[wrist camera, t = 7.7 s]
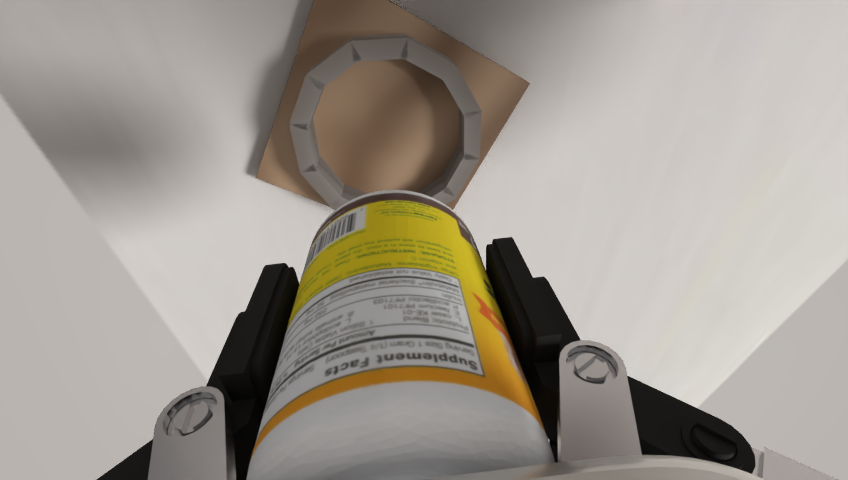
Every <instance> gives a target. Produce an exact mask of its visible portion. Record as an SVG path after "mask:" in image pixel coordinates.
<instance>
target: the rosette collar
mask: <svg viewBox="0 0 848 480" xmlns="http://www.w3.org/2000/svg"><path fill="white" fill-rule="evenodd" d="M529 84H530V83H529V82H527V81H526V80H524V79H522V78H520V77H519V76H517V75H515V74H514V73H512V72H510V71H508V70H507V69H505V68H503V67H502V66H500V65H498V64H496V63H495V62H493V61H491V60H490V59H488V58H486V57H485V56H483V55H481V54H479V53H478V52H476V51H474V50H473V49H471V48H469V47H467V46H466V45H464V44H462V43H461V42H459V41H457V40H455V39H454V38H452V37H450V36H449V35H447V34H445V33H443V32H442V31H440V30H438V29H437V28H435V27H433V26H431V25H430V24H428V23H426V22H425V21H423V20H421V19H419V18H418V17H416V16H414V15H413V14H411V13H409V12H407V11H406V10H404V9H402V8H401V7H399V6H397V5H395V4H394V3H392V2H390V1H389V0H314V2H313V5H312V8H311V11H310V14H309V17H308V20H307V23H306V26H305V29H304V32H303V35H302V38H301V42H300V45H299V48H298V51H297V54H296V57H295V60H294V63H293V66H292V69H291V72H290V75H289V78H288V81H287V84H286V87H285V90H284V94H283V97H282V100H281V103H280V106H279V109H278V112H277V115H276V118H275V121H274V124H273V127H272V130H271V133H270V136H269V139H268V142H267V145H266V149H265V152H264V155H263V158H262V161H261V164H260V167H259V170H258V173H257V176H256V178H258V179H261V180H263V181H266V182H268V183H271V184H273V185H276V186H278V187H281V188H284V189H286V190H289V191H291V192H294V193H296V194H299V195H302V196H304V197H307V198H309V199H312V200H314V201H317V202H319V203H322V204H325V205H327V206H330V207H331V208H332V209H335V210H336V209H338V208H339V207H340V206H342V205H343V204H345V203H347V202H348V201H350V200H352V199H354V198H357V197H359V196H362V195H365V194H368V193H372V192H376V191H383V190H406V191H412V192H417V193H421V194H424V195H427V196H430V197H432V198H434V199H436V200H438V201H440V202H442V203H444V204H445V205H447V206H448V207H449V208H451V209H452V210H453V209H454V207H455V205H456V204H457V202H458V201H459V199H460V197H461V196H462V194H463V192H464V191H465V189H466V187H467V186H468V184H469V182H470V181H471V179H472V178H473V176H474V174H475V173H476V171H477V169H478V168H479V166H480V164H481V163H482V161H483V159H484V158H485V156H486V155H487V153H488V151H489V150H490V148H491V146H492V145H493V143H494V141H495V140H496V138H497V136H498V135H499V133H500V132H501V130H502V128H503V127H504V125H505V123H506V122H507V120H508V118H509V117H510V115H511V113H512V112H513V110H514V109H515V107H516V105H517V104H518V102H519V100H520V99H521V97H522V95H523V94H524V92H525V90H526V89H527V87H528V86H529Z"/></svg>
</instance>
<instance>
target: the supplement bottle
mask: <svg viewBox="0 0 848 480" xmlns="http://www.w3.org/2000/svg"><path fill="white" fill-rule="evenodd" d="M550 463H555V460H554V456H553V453H552V450H551V447H550V444H549V441H548V438H547V435H546V432H545V429H544V426H543V424H542V421H541V418H540V416H539V413H538V410H537V408H536V405H535V402H534V399H533V397H532V394H531V391H530V389H529V386H528V383H527V381H526V378H525V375H524V373H523V370H522V367H521V364H520V362H519V359H518V356H517V354H516V351H515V348H514V346H513V343H512V340H511V338H510V335H509V332H508V330H507V327H506V324H505V322H504V319H503V316H502V313H501V311H500V308H499V305H498V302H497V300H496V297H495V295H494V292H493V289H492V286H491V283H490V281H489V278H488V275H487V273H486V270H485V267H484V265H483V262H482V259H481V257H480V254H479V251H478V249H477V246H476V243H475V241H474V239H473V236H472V234H471V232H470V231H469V229H468V227H467V226H466V224H465V223H464V222H463V220H462V219H461V218H460V217H459V216H458V214H457V213H455V212H454V211H453V210H452V209H451V208H449V207H448V206H447V205H445V204H444V203H442V202H440V201H438V200H436V199H434V198H432V197H430V196H427V195H424V194H421V193H417V192H412V191H406V190H383V191H376V192H372V193H368V194H365V195H362V196H359V197H357V198H354V199H352V200H350V201H348V202H347V203H345V204H343V205H342V206H340V207H339V208H338V209H336V210H335V211H334V212H333V213H332V214H331V215H330V216H329V217H328V218H327V219H326V220H325V221H324V222H323V224H322V225H321V226H320V228H319V229H318V231H317V233H316V235H315V237H314V239H313V242H312V244H311V247H310V250H309V253H308V257H307V261H306V264H305V268H304V271H303V274H302V277H301V281H300V285H299V288H298V291H297V296H296V299H295V302H294V306H293V309H292V313H291V316H290V319H289V323H288V327H287V330H286V334H285V337H284V341H283V346H282V349H281V353H280V356H279V360H278V363H277V367H276V371H275V374H274V378H273V381H272V385H271V389H270V392H269V396H268V399H267V403H266V406H265V410H264V414H263V417H262V421H261V424H260V428H259V432H258V436H257V439H256V443H255V447H254V449H253V453H252V456H251V460H250V464H249V468H248V474H247V479H246V480H423V479H430V478H438V477H446V476H454V475H462V474H470V473H478V472H486V471H494V470H502V469H510V468H518V467H526V466H534V465H542V464H550Z"/></svg>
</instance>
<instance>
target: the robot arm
mask: <svg viewBox="0 0 848 480" xmlns="http://www.w3.org/2000/svg"><path fill="white" fill-rule="evenodd" d="M486 273H487V275H488V278H489V281H490V283H491V286H492V289H493V292H494V295H495V297H496V300H497V302H498V305H499V308H500V311H501V313H502V316H503V319H504V322H505V324H506V327H507V330H508V332H509V335H510V338H511V340H512V343H513V346H514V348H515V351H516V354H517V356H518V359H519V362H520V364H521V367H522V370H523V373H524V375H525V378H526V381H527V383H528V386H529V389H530V391H531V394H532V397H533V399H534V402H535V405H536V408H537V410H538V413H539V416H540V418H541V421H542V424H543V426H544V429H545V432H546V435H547V438H548V441H549V444H550V447H551V450H552V453H553V456H554V460H555V463H550V464H542V465H534V466H526V467H518V468H510V469H502V470H494V471H486V472H478V473H470V474H462V475H454V476H446V477H438V478H430V479H423V480H838V479H835V478H833V477H831V476H829V475H826V474H824V473H822V472H820V471H817V470H815V469H813V468H810V467H808V466H806V465H804V464H801V463H799V462H797V461H795V460H792V459H790V458H788V457H785V456H783V455H781V454H779V453H777V452H774V451H772V450H770V449H768V448H764V449H763V451H762V452H761V451H759V450H757V449H754V448H752V447H751V446H750V444H749V443H748V442H747V441H746V439H745V438H744V437H743V436H742V434H740V433H739V432H738V431H737V430H736V429H734V428H733V427H732V426H731V425H729V424H727V423H726V422H724V421H722V420H721V419H719V418H717V417H714V416H712V415H710V414H708V413H706V412H704V411H702V410H699V409H697V408H695V407H693V406H691V405H689V404H687V403H685V402H682V401H680V400H678V399H676V398H674V397H672V396H670V395H667V394H665V393H663V392H661V391H659V390H657V389H655V388H652V387H650V386H648V385H646V384H644V383H642V382H640V381H637V380H635V379H633V378H631V377H629V376H627V372H626V368H625V365H624V363H623V360H622V359H621V358H620V357H619V355H618V354H617V353H616V352H614V351H613V350H612V349H610V348H609V347H607V346H605V345H603V344H601V343H598V342H593V341H586V340H580V338H579V336H578V334H577V333H576V331H575V329H574V327H573V325H572V324H571V322H570V320H569V318H568V316H567V315H566V313H565V311H564V309H563V307H562V306H561V304H560V302H559V300H558V298H557V297H556V295H555V293H554V291H553V289H552V287H551V286H550V284H549V282H548V281H547V279H546V278H545V277H537V278H533V277H532V275H531V273H530V271H529V269H528V267H527V265H526V263H525V261H524V259H523V257H522V255H521V253H520V251H519V249H518V247H517V246H516V244H515V242H514V240H513V238H512V237H509V238H500V239H493V242H492V244H489V245H487V246H486ZM298 288H299V282H298V279H297V275H296V272H295V270H294V268H293V267H288V266H287V264H285V263H281V264H272V265H266V266H265V267H264V268H263V271H262V273H261V275H260V278H259V280H258V283H257V285H256V287H255V290H254V292H253V294H252V297H251V299H250V301H249V304H248V306H247V309H246V311H245V312H241V313H240V314H238V316H237V318H236V320H235V322H234V324H233V327H232V329H231V331H230V333H229V336H228V338H227V340H226V342H225V345H224V347H223V349H222V352H221V354H220V356H219V358H218V361H217V363H216V365H215V367H214V370H213V372H212V374H211V377H210V379H209V381H208V383H207V386H206V387H199V388H194V389H191V390H189V391H187V392H185V393H183V394H181V395H179V396H178V397H177V398H175V399H174V400H172V401H171V402H170V403H169V404H168V405H167V406H166V407H165V408H164V409H163V411H162V412H161V414H160V415H159V417H158V419H157V422H156V425H155V429H154V437H153V439H152V440H151V441H150V442H149V443H147V444H146V445H144V446H143V447H141V448H140V449H139V450H137V451H136V452H134V453H133V454H132V455H130V456H129V457H127V458H126V459H125V460H123V461H122V462H121V463H119V464H118V465H116V466H115V467H114V468H112V469H111V470H109V471H108V472H107V473H105V474H104V475H103V476H101V477H100V478H98V479H97V480H246V479H247V474H248V468H249V464H250V460H251V456H252V453H253V449H254V447H255V443H256V439H257V436H258V432H259V428H260V424H261V421H262V417H263V414H264V410H265V406H266V403H267V399H268V396H269V392H270V389H271V385H272V381H273V378H274V374H275V371H276V367H277V363H278V360H279V356H280V353H281V349H282V346H283V341H284V337H285V334H286V330H287V327H288V323H289V319H290V316H291V313H292V309H293V306H294V302H295V299H296V296H297V291H298Z"/></svg>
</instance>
